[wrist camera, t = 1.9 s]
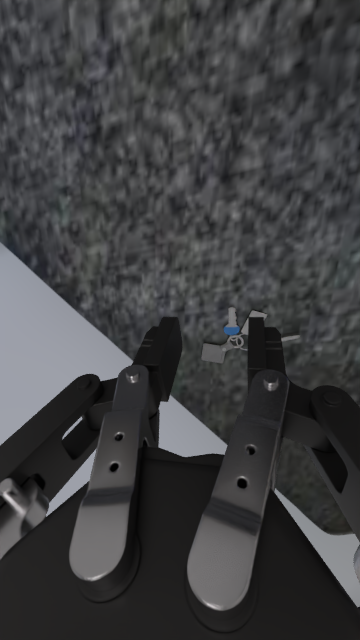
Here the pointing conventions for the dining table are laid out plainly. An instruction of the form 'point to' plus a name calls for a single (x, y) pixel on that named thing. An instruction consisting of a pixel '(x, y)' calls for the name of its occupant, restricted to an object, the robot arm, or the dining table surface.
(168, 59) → the dining table surface
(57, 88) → the dining table surface
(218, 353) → the key chain
